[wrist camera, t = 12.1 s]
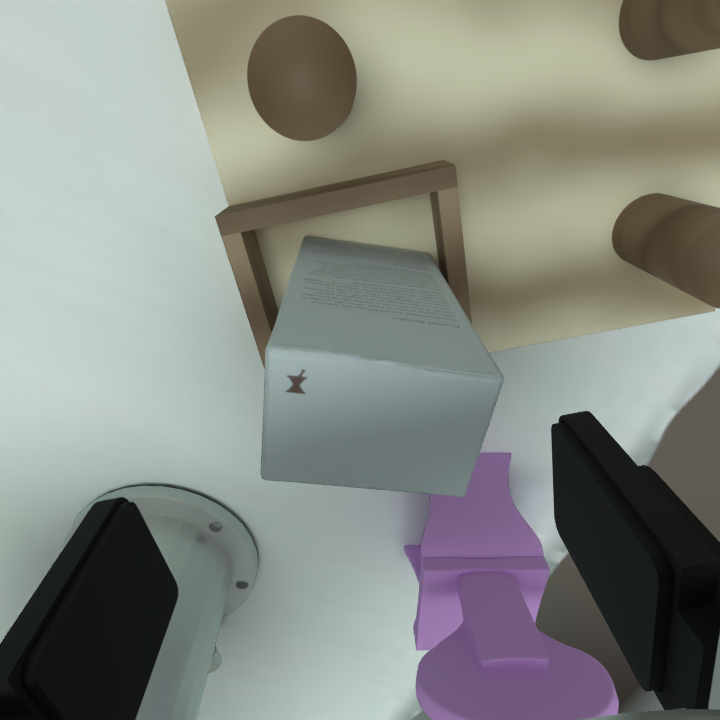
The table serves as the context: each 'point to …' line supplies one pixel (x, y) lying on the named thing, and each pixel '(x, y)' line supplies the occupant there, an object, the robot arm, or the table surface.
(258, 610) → the table surface
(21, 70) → the table surface
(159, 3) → the table surface
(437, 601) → the toy chair
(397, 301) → the skincare box
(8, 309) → the table surface
